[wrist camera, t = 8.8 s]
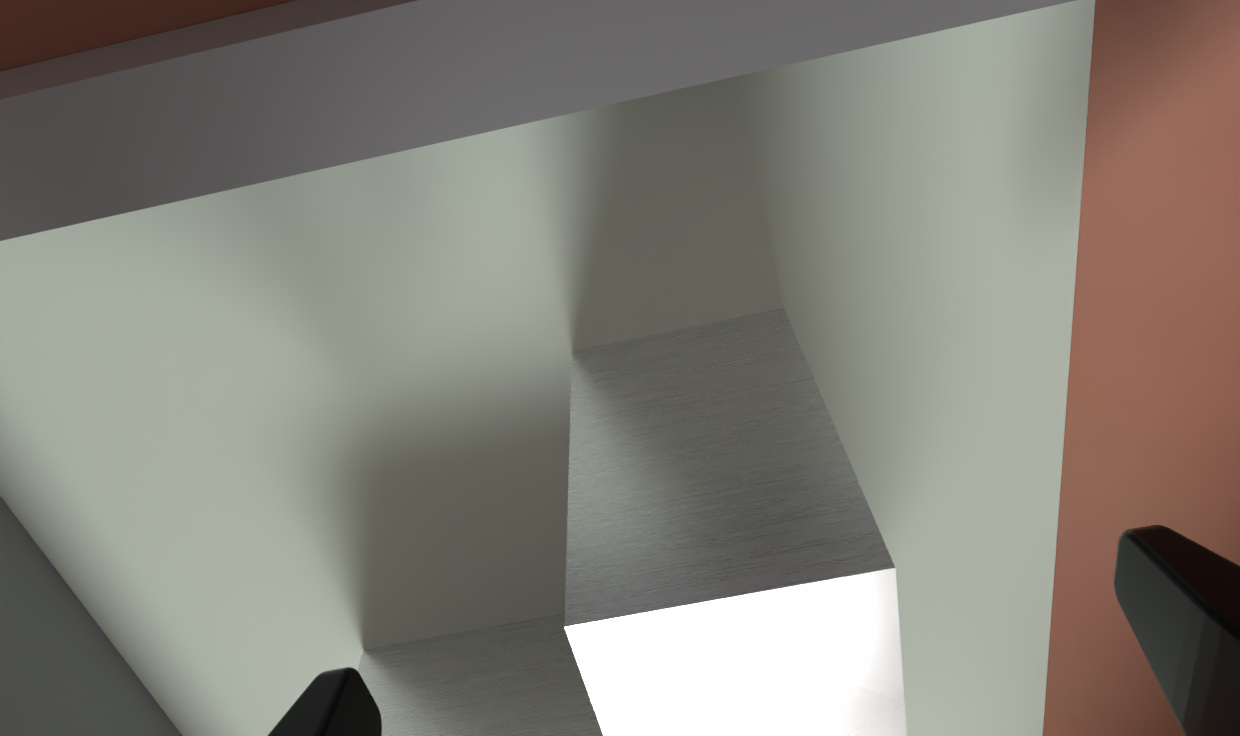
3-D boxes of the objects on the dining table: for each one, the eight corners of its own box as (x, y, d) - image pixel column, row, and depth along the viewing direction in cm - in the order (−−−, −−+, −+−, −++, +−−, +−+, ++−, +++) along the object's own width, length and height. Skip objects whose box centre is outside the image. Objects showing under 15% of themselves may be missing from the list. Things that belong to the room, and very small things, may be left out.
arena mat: (1082, -70, 10) (1099, -66, 10) (1030, 763, 18) (1039, 781, 18) (-176, 220, 11) (-201, 231, 11) (308, 876, 19) (303, 894, 19)
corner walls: (1215, -233, 9) (1461, -262, 7) (1093, 756, 18) (1178, 907, 15) (-337, 143, 11) (-631, 237, 8) (259, 886, 20) (210, 1043, 17)
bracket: (833, 682, 16) (923, 988, 12) (419, 752, 17) (362, 1067, 12) (783, 307, 12) (894, 567, 8) (237, 420, 13) (57, 718, 8)
